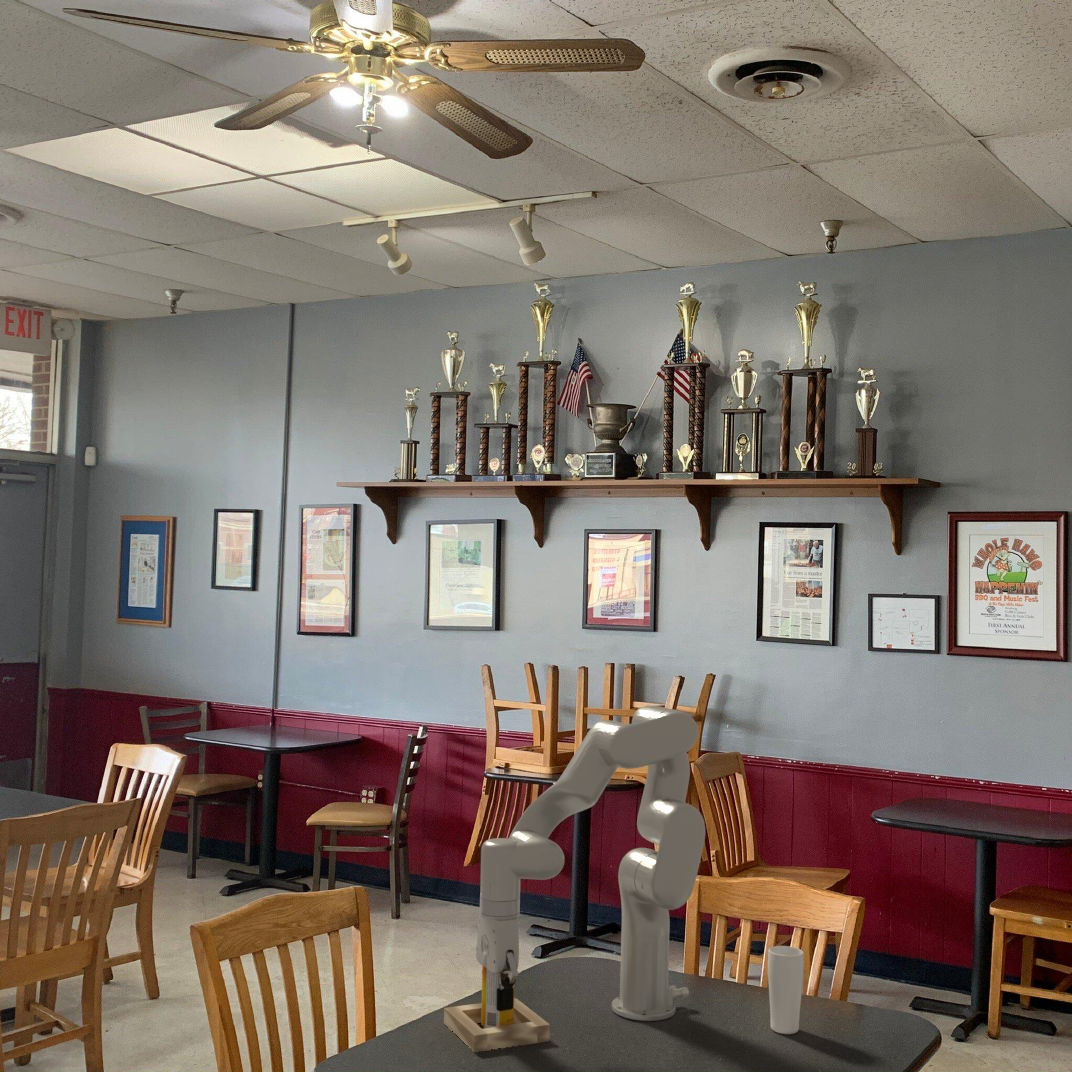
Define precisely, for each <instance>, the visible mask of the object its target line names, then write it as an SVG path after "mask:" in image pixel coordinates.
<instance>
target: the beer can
mask: <svg viewBox="0 0 1072 1072" xmlns="http://www.w3.org/2000/svg"><path fill="white" fill-rule="evenodd" d="M486 954H487V953H486V951H484V953H483V965H481V966H482V969H481V974H482V975H481V1003H482V1006H481V1024H480V1025H481V1026H482V1027H483V1029H485V1028H492V1027H499V1026H506V1025H513V1024H514V1002H513V1009H511V1010H504V1011H498V1010H497V1009H496V1007H497V988H499V983H498V974H493V973H492V972H490V971H489V970H488V969H487V956H488V955H486ZM507 970H508V967H504V968H503V970H502V971H507ZM506 977H508V974H504V975H503V981H504V979H505V978H506Z"/></svg>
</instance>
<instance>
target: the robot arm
mask: <svg viewBox="0 0 1072 1072" xmlns="http://www.w3.org/2000/svg"><path fill="white" fill-rule="evenodd" d="M698 737H699V728H698V724H697V722H696V720H695V719H694V717H693V716H691V715H690V714H689V713H686V712H685V711H682V710H679V709H673V708H668V707H665V706H659V705H644V706H642V707H639V708H637V709H636V711H635V712H634V713H633V716H632V720H631V723H625V722H620V721H615V720H610V719H607V720H606V719H604V720H600V721H597V722H596V723H594V724H593V725H592V727H591V728H590V729H589V730H588V732H587V734H586V735H585V737H584V738H583V740H582V742H581V743H580V745H579V746H578V748H577V749H576V751H575V753H574V755H572V758H571V759H570V761H569V763H568V764H567V766H566V768H565V769H564V770H563V772H562V774H561V775H560V776H559V778H558V780H557V781H556V782H555V783H554V784H552V785H551V786H549V787H548V788H547V789H546V790H545V791H544V792H543V793H542V794H540V795H539V796H538V797H537V798H535V799H534V800H533V801H532V802H531V803H530V804H529V805H528V807H527V808H526V809H525V810H524V812H523V813H522V815H521V816H520V818H519V819H518V821H517V822H516V824H515V826H514V828H513V829H512V831H511V833H510V835H509V837H508V838H505V837H502V838H501V837H498V838H497V837H495V838H490V839H486V840H485V841H484V842H483V844H482V845H481V849H480V851H481V852H480V882H479V883H480V886H479V887H480V893H479V894H480V895H479V917H478V924H477V934H476V947H475V948H476V951H475V952H476V953H475V959H476V961H477V962H478V963H479V964H480V965H481V966H482V965H483V953H484V951H486V953H487V954H486V955H488V956H487V969H488V970H489V971H490V972H492V973H493V974H498V983H499V988H497V1007H496V1009H497V1010H498V1011H504V1010H511V1009H513V1002H514V999H515V988H516V982H517V979H518V977H519V971H518V969H519V960H520V959H519V958H520V939H519V921H518V917H519V916H520V913H521V912H520V911H521V910H520V909H521V907H520V905H521V879H525V880H539V881H543V880H544V881H545V880H550V879H553V878H555V877H556V876H557V875H558V874H560V873H561V871H562V870H563V868H564V865H565V854H564V851H563V850H562V848H561V847H560V845H558V843H556V842H555V841H553V840H551V839H549V837H550V835H551V834H552V832H554V830H555V828H556V827H557V826H558V825H560V823H561V822H563V821H564V820H566V819H567V818H568V817H570V816H572V815H576V813H580V812H583V811H586V810H588V809H590V808H592V807H594V806H595V805H596V803H597V802H598V800H599V798H600V797H601V795H602V794H603V792H604V790H605V789H606V787H607V786H608V784H609V782H610V781H611V779H612V778H613V775H614V774H615V772H616V771H617V769H618V768H620V769H625V770H631V769H638V768H643V767H646V766H647V773H646V779H645V780H646V781H645V784H644V787H643V793H642V796H641V802H640V803H639V809H638V813H637V817H636V818H637V821H636V827H637V831H638V834H640V836H641V837H642V838H644V839H645V840H646V841H648V842H651V843H652V844H655V845H657V846H658V849H657V850H654V849H651V848H649V847H648V848H647V847H638V848H637V847H636V848H634V849H631V850H630V851H628V852H627V853H625V855H624V856H623V857H622V859H621V860H620V864H619V867H618V875H617V877H618V886H619V887H618V888H619V894H620V901H621V903H620V904H621V931H620V932H621V933H620V934H621V935H620V936H621V937H620V971H619V972H620V975H619V976H620V978H619V981H620V983H619V996H618V997H615V998H614V999H613V1000H612V1001H611V1009H612V1011H613V1013H615V1014H616V1015H618V1016H620V1017H622V1018H627V1019H629V1020H633V1021H634V1020H635V1021H642V1022H643V1021H644V1022H645V1021H646V1022H655V1021H663V1020H667V1019H670V1018H671V1017H673V1016H675V1014H676V1004H675V1003H674V1002H675V1001H676V1000H677V999H683V998H684V999H685V998H688V997H689V996H690V990H689V988H688V987H687V986H683V987H677V986H676V985H669V965H670V963H669V959H670V955H669V953H670V929H671V928H670V926H671V923H670V921H671V920H670V913H669V912H670V911H671V910H672V911H673V910H676V909H679V908H681V907H682V906H684V905H685V904H686V902H688V900H689V898H690V897H691V896H692V894H693V892H694V891H693V890H694V888H695V884H696V881H697V877H698V873H699V867H700V863H701V859H702V853H703V849H704V845H705V840H706V826H705V825H706V824H705V819H704V817H703V815H702V813H701V812H700V811H699V810H698V809H697V808H696V807H695V806H693V805H692V804H689V803H687V802H686V800H687V795H688V789H689V788H688V787H689V782H690V774H691V768H690V767H691V766H690V761H689V756H688V753H687V752H689V751H690V750H692V748H693V747H695V744H696V743H697V740H698ZM504 967H508V970H507V971H502V970H503V968H504ZM504 974H508V977H506V978H505V979H504V981H503V975H504ZM673 1001H674V1002H673Z"/></svg>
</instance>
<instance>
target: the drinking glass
mask: <svg viewBox="0 0 1072 1072" xmlns="http://www.w3.org/2000/svg"><path fill="white" fill-rule="evenodd" d="M804 955H805V954H804V951H803V950H801V949H800V948H797V947H794V946H787V945H775V946H771V947H769V948H768V950H767V982H768V996H769V1011H770V1012H769V1013H770V1015H769V1016H770V1029H771V1030H772V1031H773V1032H776V1033H778V1034H780V1035H781V1034H782V1035H795V1034H796V1033H798V1031H799V1030H800V1016H801V1015H800V1013H801V1005H802V1004H801V1003H802V993H803V984H804V971H805V969H804V968H805V960H804V959H805V958H804Z"/></svg>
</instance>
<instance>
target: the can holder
mask: <svg viewBox="0 0 1072 1072" xmlns="http://www.w3.org/2000/svg"><path fill="white" fill-rule="evenodd" d="M481 1006H482V1002H480V1003H473V1004H472V1003H471V1004H464V1005H458V1006H457V1005H456V1006H449V1007H444V1008H443V1011H444V1012H443V1025H444V1024H445V1025H446V1026H447V1027H448V1028H447V1027H446V1026H445V1025H444V1026H445V1027H446V1028H447V1029H449V1031H451V1032H452V1031H453V1032H452V1033H453V1034H454V1033H455V1034H456V1035H457V1036H458V1037H459V1038H460V1039H461V1040H462V1041H463V1042H464V1043H465V1044H466V1045H468V1046H469V1047H468V1046H467V1047H468V1048H469V1049H470V1048H471V1049H472V1050H471V1049H470V1050H471V1051H472V1052H473V1053H474V1052H476V1053H481V1051H482V1052H486V1051H487V1052H488V1051H495V1050H499V1049H498V1048H501V1049H506V1047H508V1048H513V1047H512V1046H514V1047H519V1046H518V1045H521V1046H526V1045H533V1044H540V1043H546V1042H547V1043H548V1042H550V1030H551V1029H550V1027H551V1024H550V1023H548V1021H546V1020H545V1019H543V1018H542V1017H541V1016H539V1015H538V1014H537V1013H536V1012H534V1011H533V1010H532V1009H530V1008H529V1007H528V1006H527V1005H525V1003H523V1002H522V1001H520V1000H519V999H518V998H517V997H516V998H515V997H514V1024H513V1025H506V1026H499V1027H492V1028H485V1029H484V1028H482V1027H480V1025H479V1024H477V1023H481ZM455 1034H454V1035H455ZM456 1035H455V1036H456ZM457 1036H456V1037H457ZM458 1037H457V1038H458ZM459 1038H458V1039H459ZM460 1039H459V1040H460ZM461 1040H460V1041H461ZM462 1041H461V1042H462ZM463 1042H462V1043H463ZM464 1043H463V1044H464ZM465 1044H464V1045H465ZM466 1045H465V1046H466ZM491 1049H493V1050H491ZM494 1049H495V1050H494ZM479 1051H480V1052H479Z"/></svg>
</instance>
